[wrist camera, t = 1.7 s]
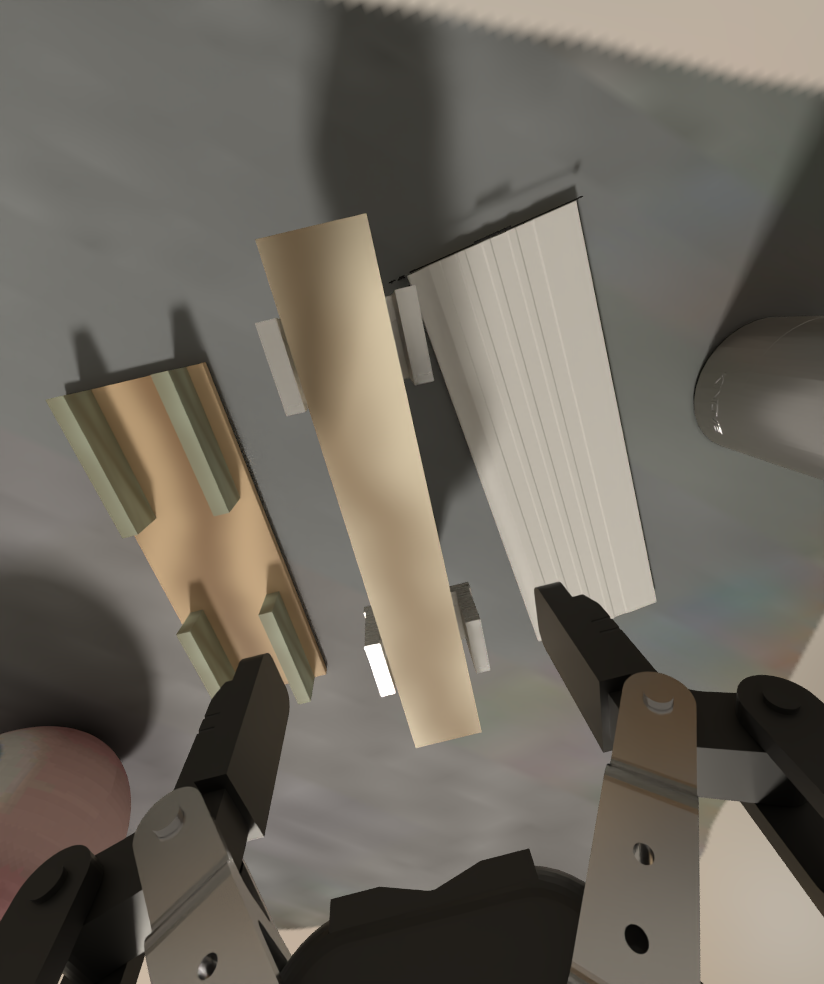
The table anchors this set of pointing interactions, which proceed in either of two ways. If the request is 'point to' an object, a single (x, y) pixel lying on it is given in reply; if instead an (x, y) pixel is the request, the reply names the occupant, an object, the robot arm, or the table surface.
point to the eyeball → (56, 799)
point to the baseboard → (540, 408)
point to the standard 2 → (467, 629)
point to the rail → (373, 461)
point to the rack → (194, 520)
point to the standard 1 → (406, 338)
